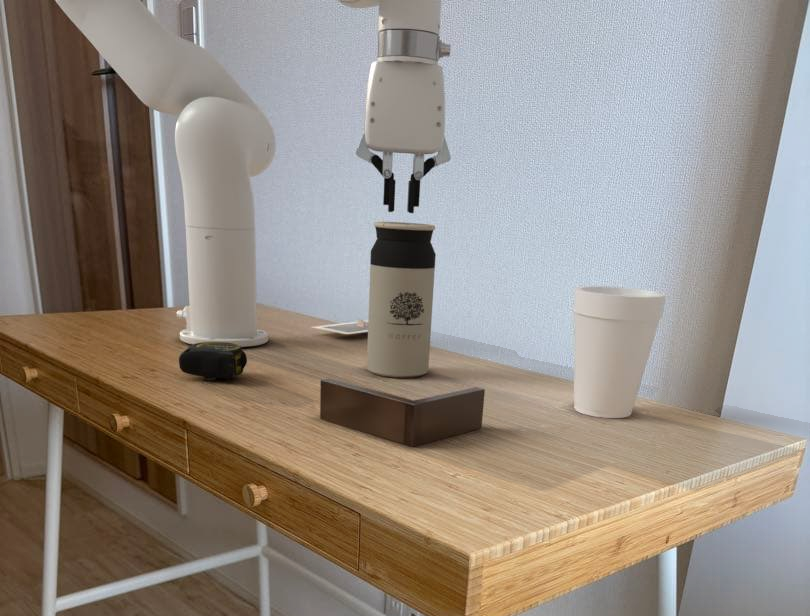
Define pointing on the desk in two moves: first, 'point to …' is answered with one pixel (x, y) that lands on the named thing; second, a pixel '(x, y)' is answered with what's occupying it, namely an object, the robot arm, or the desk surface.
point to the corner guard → (401, 412)
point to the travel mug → (400, 299)
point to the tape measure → (213, 360)
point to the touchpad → (347, 327)
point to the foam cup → (612, 346)
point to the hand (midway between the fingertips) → (400, 211)
